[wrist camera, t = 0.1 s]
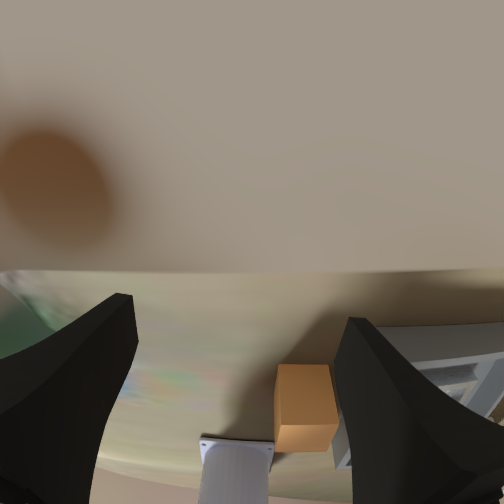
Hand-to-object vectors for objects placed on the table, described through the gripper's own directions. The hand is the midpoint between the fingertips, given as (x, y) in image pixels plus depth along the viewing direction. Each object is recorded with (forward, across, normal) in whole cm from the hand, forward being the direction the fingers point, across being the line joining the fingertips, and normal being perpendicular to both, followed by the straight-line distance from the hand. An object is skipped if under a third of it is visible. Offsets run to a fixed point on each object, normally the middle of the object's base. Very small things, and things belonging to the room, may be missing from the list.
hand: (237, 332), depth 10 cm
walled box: (+10, -18, +15) cm, 26 cm away
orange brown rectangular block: (+10, -5, +13) cm, 17 cm away
